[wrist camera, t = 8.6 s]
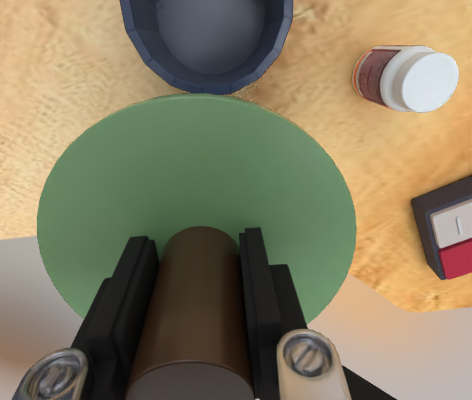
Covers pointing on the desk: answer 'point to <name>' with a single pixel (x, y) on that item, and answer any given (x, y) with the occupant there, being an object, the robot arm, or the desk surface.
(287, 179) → the lid
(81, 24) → the desk surface
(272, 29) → the tin
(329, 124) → the desk surface
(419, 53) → the pill bottle
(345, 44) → the desk surface
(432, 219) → the calculator
